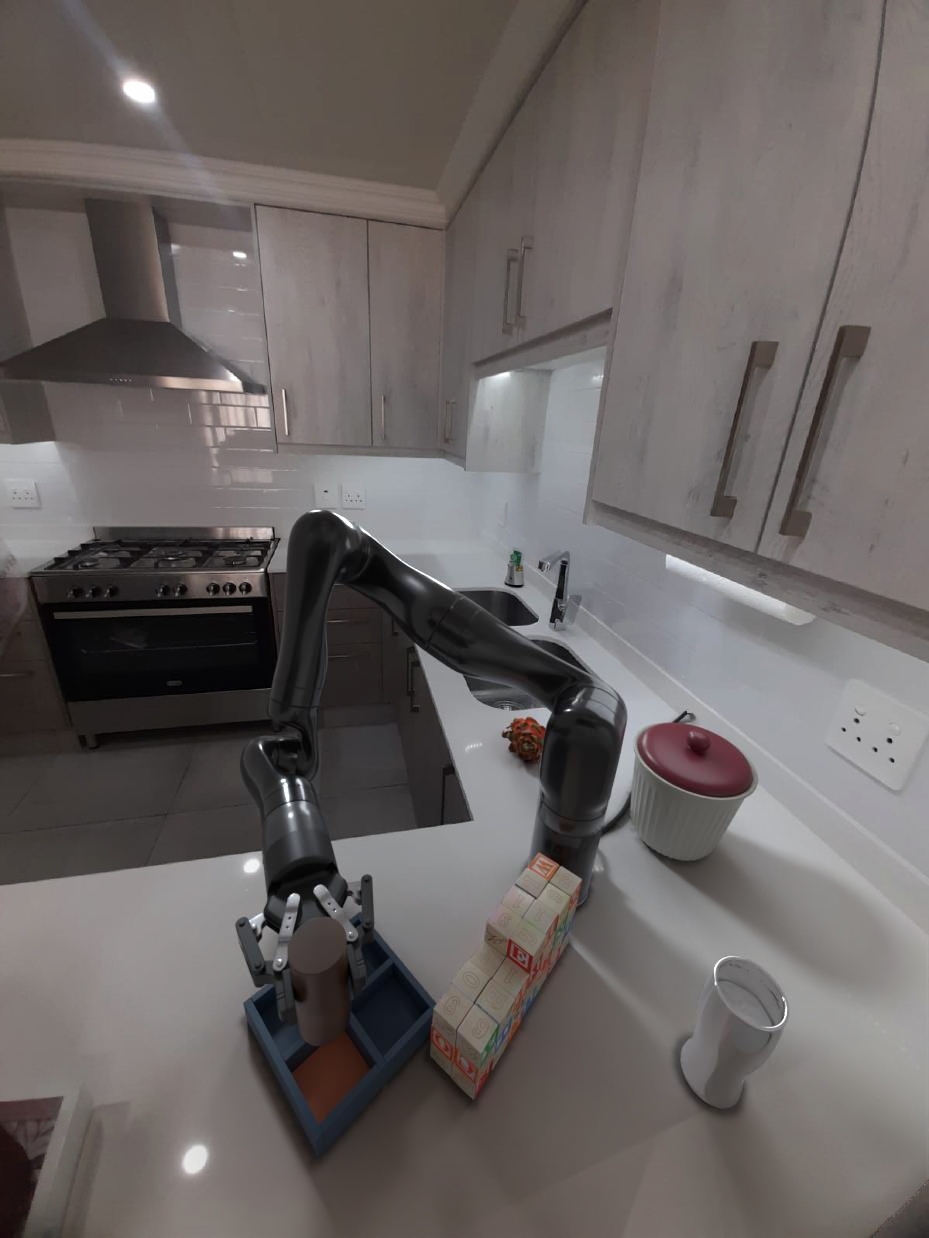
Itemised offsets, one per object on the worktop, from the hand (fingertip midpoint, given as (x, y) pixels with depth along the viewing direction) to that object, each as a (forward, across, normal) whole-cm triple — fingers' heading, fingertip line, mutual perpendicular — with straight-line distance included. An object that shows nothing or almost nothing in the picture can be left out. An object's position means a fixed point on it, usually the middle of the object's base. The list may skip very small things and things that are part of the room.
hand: (326, 1004), depth 42 cm
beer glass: (+14, +37, +17) cm, 43 cm away
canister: (-12, +59, +17) cm, 62 cm away
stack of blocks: (-2, +21, +17) cm, 27 cm away
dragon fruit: (-39, +47, +17) cm, 63 cm away
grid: (-6, +2, +17) cm, 18 cm away
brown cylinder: (-3, 0, +6) cm, 7 cm away
